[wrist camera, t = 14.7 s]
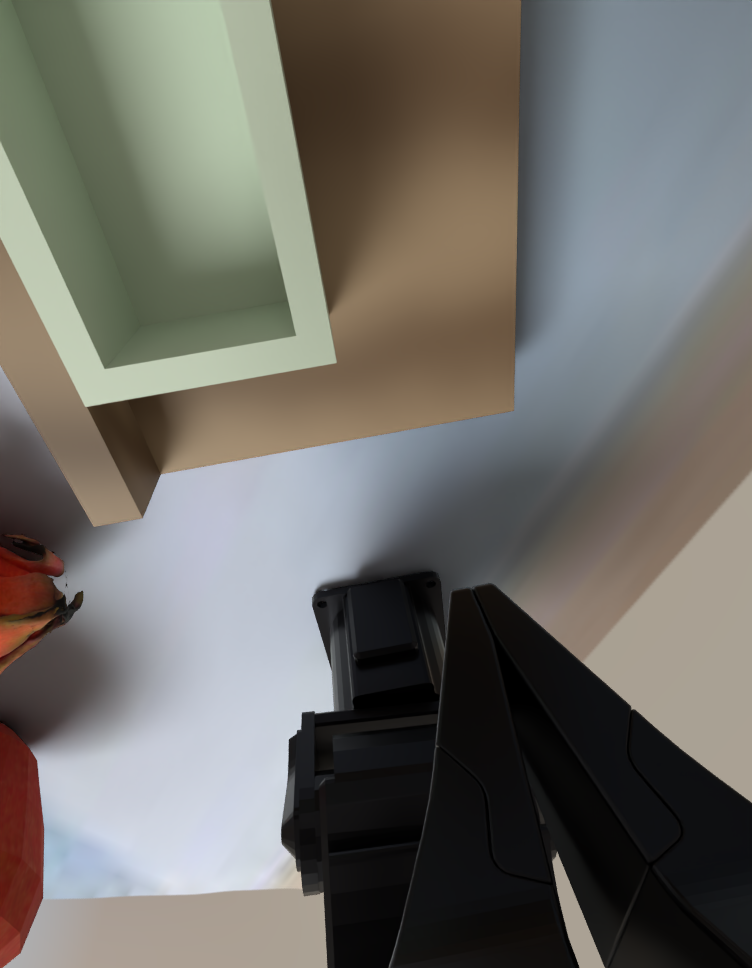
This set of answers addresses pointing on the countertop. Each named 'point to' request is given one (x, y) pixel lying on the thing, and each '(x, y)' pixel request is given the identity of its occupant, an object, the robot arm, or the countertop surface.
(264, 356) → the sage tray
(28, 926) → the apple
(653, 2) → the countertop surface
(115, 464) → the walnut shelf
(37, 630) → the dragon fruit
